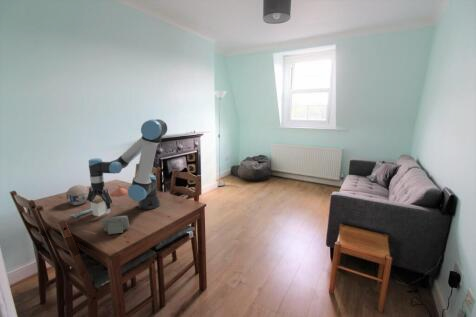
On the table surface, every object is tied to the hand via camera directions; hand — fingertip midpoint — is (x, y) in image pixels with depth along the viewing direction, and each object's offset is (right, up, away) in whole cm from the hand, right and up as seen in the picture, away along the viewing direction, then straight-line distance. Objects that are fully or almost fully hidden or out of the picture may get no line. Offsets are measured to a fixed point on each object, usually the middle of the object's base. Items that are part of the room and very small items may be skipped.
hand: (100, 211), depth 159 cm
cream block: (0, -2, 0) cm, 2 cm away
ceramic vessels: (0, +6, +41) cm, 42 cm away
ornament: (-25, +1, +16) cm, 30 cm away
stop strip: (-12, -1, 0) cm, 12 cm away
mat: (-17, -1, +2) cm, 17 cm away
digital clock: (+23, -6, -23) cm, 33 cm away
